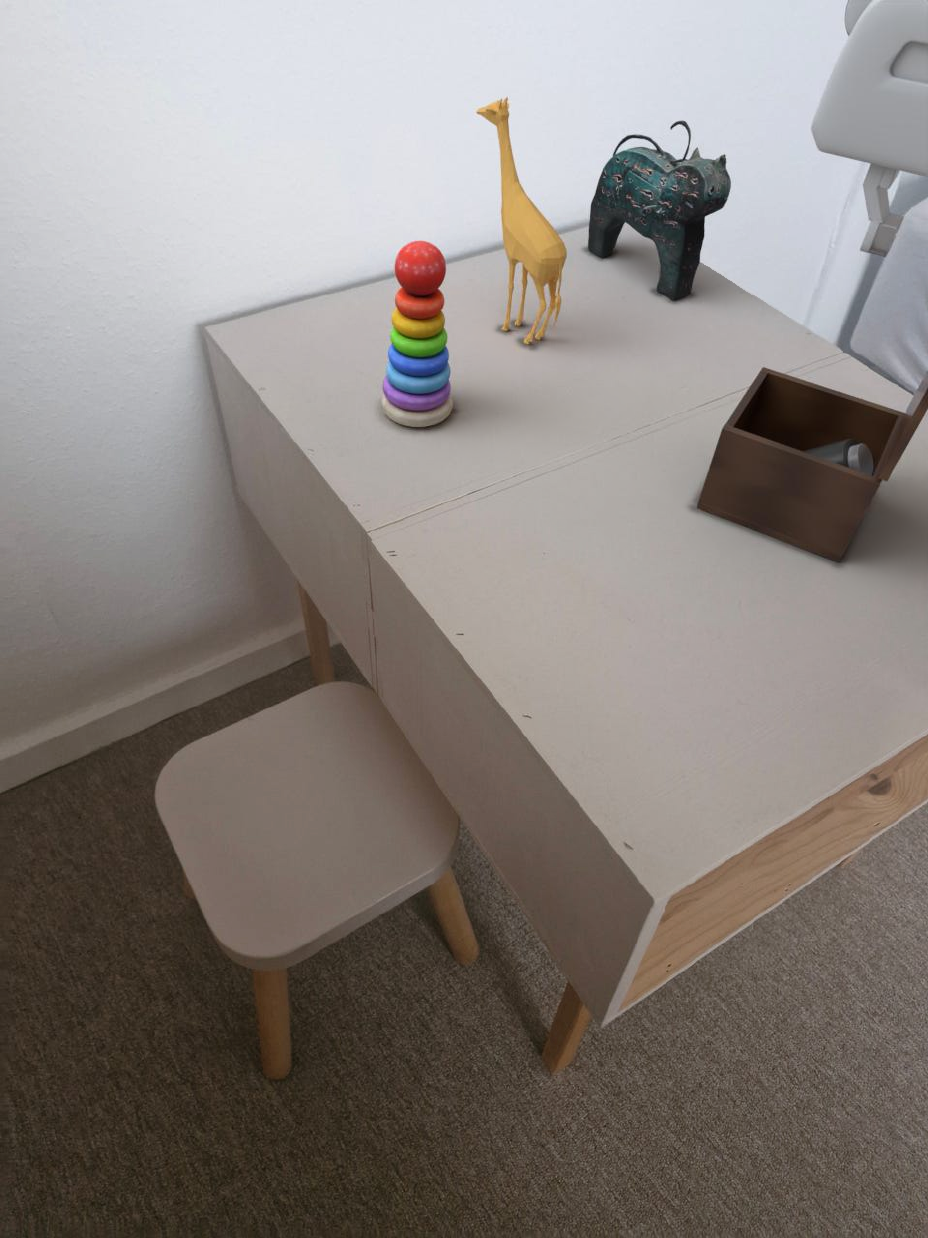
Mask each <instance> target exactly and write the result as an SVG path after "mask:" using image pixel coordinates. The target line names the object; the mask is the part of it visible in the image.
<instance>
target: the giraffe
mask: <svg viewBox="0 0 928 1238" xmlns="http://www.w3.org/2000/svg"><path fill="white" fill-rule="evenodd" d="M508 101H509V98H508V96H506V97H505V98H504V99H503V98H502V97H501V98H500V99H498V100H496V101H493V102H491V103H489V104H487V105H486V106H483V107H480V108H477V110H476V111H475V113H476V114H477V115H480V116H481V117H483V118H484V119H486V120H487V121H488V122H490V123H491V124H492V125H494V126H495V127H496V132H497V138H498V145H499V157H500V158H499V160H500V186H501V187H500V191H501V193H500V194H501V204H500V205H501V206H500V216H501V217H500V219H501V231H502V243H503V248H504V251H505V254H506V257H507V260H508V285H507V289H508V295H507V306H506V308H507V309H506V314H505V318H504V322H503V326H502V327H501V330H502V331H503V332H508V331H509V326H510V324H511V311H512V300H513V292H514V289H515V285H514V284H515V283H514V281H515V274H516V273H515V272H516V265H518V263H521V265H522V267H521V268H522V270H521V286H522V287H521V288H522V289H521V290H522V291H521V299H520V306H519V310H518V315H517V319H516V321H515V322H514V326H516V327H520V326H521V325H522V321H523V319H524V308H525V299H526V293H527V287H528V282H529V281H528V275H529V277H530V278H531V279H532V281H533V284H534V287H535V290H536V293H537V296H538V300H539V308H538V310H537V314H536V318H535V321H534V323H533V326H532V328H531V330H530V332H529V333H528V334H527V335H526V337H524V340H523V344H525V345H528V346H529V345H531V342H534V338H535V340H538V341H541V338H543V337H545V335H546V329H547V326H548V324H549V321H550V318H551V316H552V314H553V313H554V321H553V327H556V322H557V319H558V316H559V313H560V311H561V305H562V298H561V294H560V292H561V285H562V275H563V268H564V266H565V263H566V260H567V255H568V253H567V252H568V251H567V248H566V245H565V242H564V241H563V239H562V238H561V236H560V235H559V233H558V232H557V231H556V230H555V227H554V226H553V225H552V224H551V223H550V222H549V220H548V219H547V218H546V216H545V215H543V213H542V212H541V211H540V209H539V208H538V207H537V205H535V203H534V202H533V201H532V199H530V197H529V196H528V195H527V194H526V192H525V190H524V188H523V186H522V185H521V182H520V179H519V175H518V172H517V169H516V163H515V158H514V154H513V149H512V144H511V143H512V142H511V138H510V125H509V118H510V112H509V108H510V103H509V102H508ZM557 284H558V285H557ZM546 285H547V286H548V291H549V292H548V293H549V299H550V300H549V304H548V305H549V306H548V309H547V302H546V296H545V286H546ZM546 310H547V314H546V316H545V319H544V321H543V324H542V326H541V328H539V329H538V331H537V333H536V330H537V328H538V325H539V323H540V320H541V319H542V317H543V315H544V313H545V312H546ZM554 310H555V311H554Z"/></svg>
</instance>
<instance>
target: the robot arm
mask: <svg viewBox="0 0 928 1238" xmlns="http://www.w3.org/2000/svg"><path fill="white" fill-rule="evenodd" d="M844 26H845V31H846V33H847V34H846V35H847V36H848V37H847V40H846V42H845V43H844V45H843V47H842V50H841V51H840V53H839V55H838V58H837V60H836V62H835V64H834V66H833V69H832V71H831V73H830V75H829V77H828V80H827V82H826V85H825V87H824V88H823V89H824V90H823V92H822V95H821V97H820V100H819V102H818V105H817V107H816V110H815V113H814V116H813V119H812V122H811V125H810V130H811V134H812V137H813V140H814V143H815V146H816V149H817V150H818V151H819V152H822V153H825V154H829V155H833V156H837V157H842V158H845V159H851V160H854V161H859V162H862V163H865V164H867V163H868V164H870V165H869V167H868V170H867V172H866V175H865V177H864V180H863V183H862V188H863V189H862V190H863V194H864V201H865V207H866V211H867V217H868V221H870V222H869V224H868V226H867V227H868V228H867V230H866V232H865V235H864V238H863V239H862V243H861V246H860V248H859V252H863V253H866V254H870V255H871V254H872V255H876V256H880V257H883V258H887V256H888V254H889V252H890V250H891V249H892V246H893V244H894V242H895V239H896V237H897V236H896V235H897V233H898V232H899V230H900V227H901V226H902V224H903V221H904V219H905V216H903V215H899V214H897V213H892V212H891V208H890V200H889V199H890V198H889V192H888V191H889V189H891V187H892V186H893V184H894V182H895V181H896V179H897V178H898V176H899V174H900V172H905V173H909V174H913V175H917V176H921V177H925V178H928V0H847V3H846V6H845V11H844Z"/></svg>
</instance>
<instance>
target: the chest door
mask: <svg viewBox="0 0 928 1238" xmlns="http://www.w3.org/2000/svg"><path fill="white" fill-rule="evenodd" d="M927 411H928V370H926V373H925V374H924V376H923V378H922V380H921V381H920V383H919V385H918V387H917V389H916V391H915V393H914V395H913V397H912V399H911V400H910V402H909V404H908V406H907V407H906V410H905V412H904V413H905V415H904V417H903V419H902V422H901V424H900V427H899V429H898V431H897V434H896V436H895V439H894V441H893V443H892V446H891V448H890V451H889V453H888V455H887V458H886V460H885V463H884V465H883V468H882V470H881V472H880V475H879V477H878V478H879V479H882V481H885V482H889V479H890V477H891V476H892V474H893V472H894V470H895V469H896V467H897V465H898V463H899V461H900V459H901V458H902V456H903V454H904V452H905V451H906V449H907V447H908V445H909V444H910V442H911V440H912V438H913V436H914V434H915V433H916V431H917V430H918V428H919V426H920V424H921V422H922V421H923V419H924V417H925V416H926V413H927Z"/></svg>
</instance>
